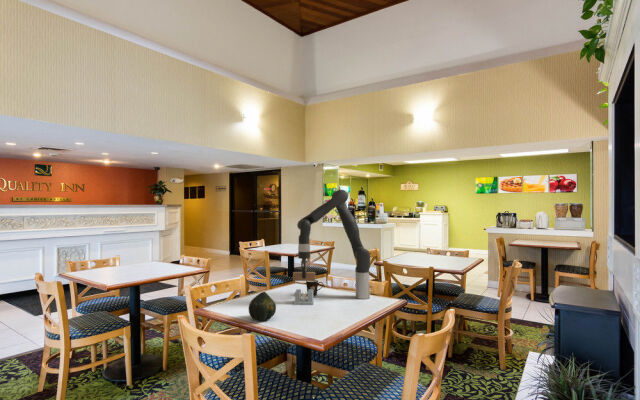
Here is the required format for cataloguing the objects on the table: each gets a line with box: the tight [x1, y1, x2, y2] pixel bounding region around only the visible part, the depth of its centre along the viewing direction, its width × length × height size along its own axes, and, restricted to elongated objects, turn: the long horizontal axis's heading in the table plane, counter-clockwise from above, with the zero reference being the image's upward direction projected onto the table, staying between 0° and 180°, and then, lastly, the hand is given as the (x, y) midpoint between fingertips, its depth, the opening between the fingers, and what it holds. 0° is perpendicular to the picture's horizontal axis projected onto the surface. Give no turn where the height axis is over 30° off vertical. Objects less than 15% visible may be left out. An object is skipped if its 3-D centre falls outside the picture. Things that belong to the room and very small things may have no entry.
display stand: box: [293, 288, 315, 306], centre depth 228 cm, size 12×10×8 cm
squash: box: [248, 291, 277, 322], centre depth 196 cm, size 14×15×15 cm
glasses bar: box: [292, 271, 316, 282], centre depth 229 cm, size 14×3×5 cm, turn 87°
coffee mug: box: [305, 279, 324, 297], centre depth 248 cm, size 12×9×10 cm
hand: (304, 277), depth 229 cm, fingers closed on glasses bar, 3 cm apart
